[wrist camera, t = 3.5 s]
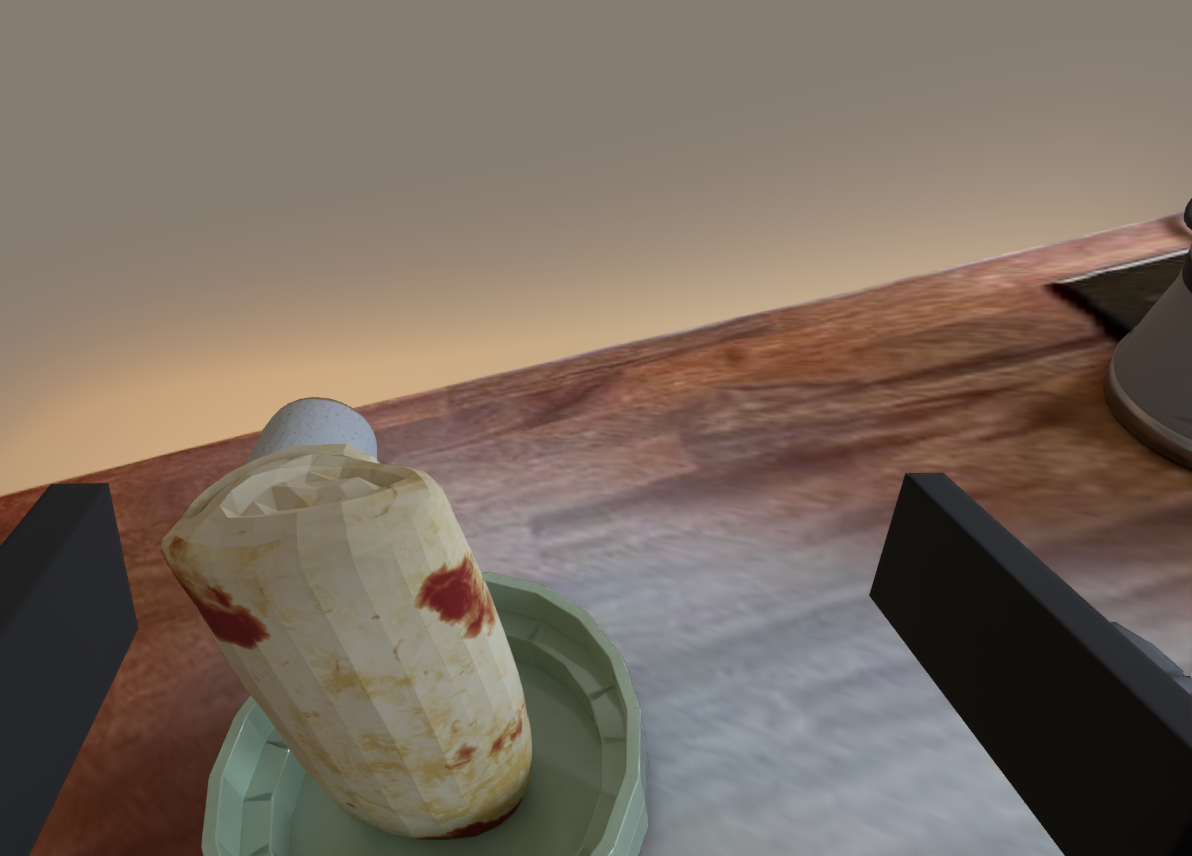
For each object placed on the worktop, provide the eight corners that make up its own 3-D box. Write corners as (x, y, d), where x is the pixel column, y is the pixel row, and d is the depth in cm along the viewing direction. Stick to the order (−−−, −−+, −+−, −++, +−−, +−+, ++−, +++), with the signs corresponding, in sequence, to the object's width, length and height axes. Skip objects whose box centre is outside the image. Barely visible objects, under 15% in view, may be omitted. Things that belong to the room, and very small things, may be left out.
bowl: (324, 635, 45) (292, 579, 42) (649, 626, 43) (641, 566, 40) (181, 1032, 31) (116, 992, 28) (649, 1047, 29) (637, 1006, 26)
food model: (328, 878, 35) (85, 583, 22) (361, 733, 40) (179, 425, 27) (553, 864, 34) (438, 551, 21) (557, 718, 39) (466, 395, 26)
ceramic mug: (394, 464, 56) (358, 375, 51) (378, 554, 49) (335, 462, 44) (244, 487, 56) (194, 400, 51) (210, 579, 50) (148, 490, 45)
